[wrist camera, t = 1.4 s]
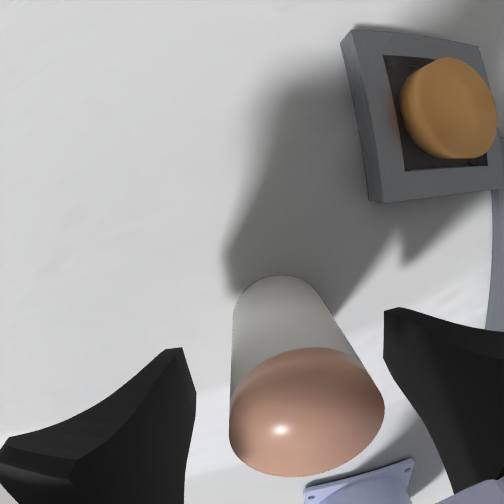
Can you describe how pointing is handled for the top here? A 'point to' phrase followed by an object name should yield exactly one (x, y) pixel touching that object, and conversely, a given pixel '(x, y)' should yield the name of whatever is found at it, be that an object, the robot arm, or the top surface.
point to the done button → (448, 110)
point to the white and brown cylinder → (296, 383)
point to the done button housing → (386, 126)
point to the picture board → (497, 260)
